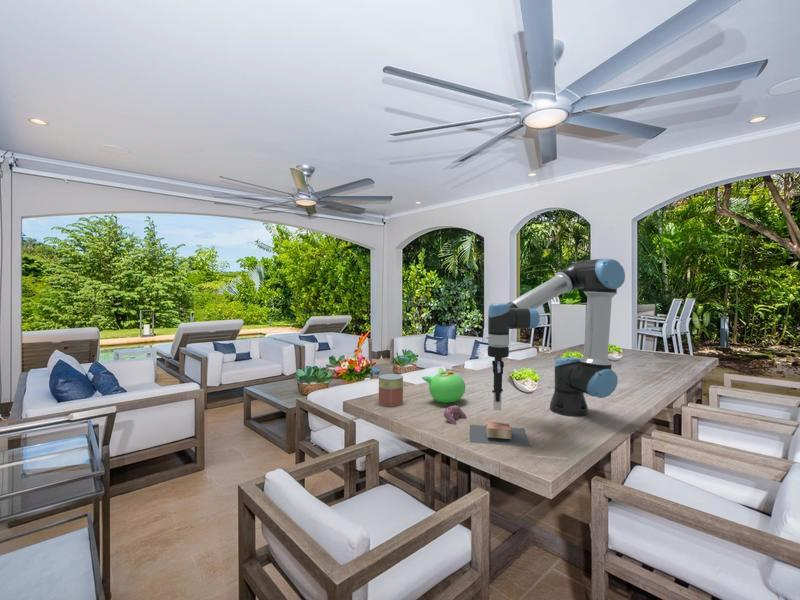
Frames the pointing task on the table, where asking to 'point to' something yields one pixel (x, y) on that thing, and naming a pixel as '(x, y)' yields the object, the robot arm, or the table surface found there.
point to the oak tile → (498, 430)
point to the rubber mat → (517, 438)
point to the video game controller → (455, 411)
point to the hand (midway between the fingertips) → (497, 409)
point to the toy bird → (446, 386)
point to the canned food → (390, 389)
